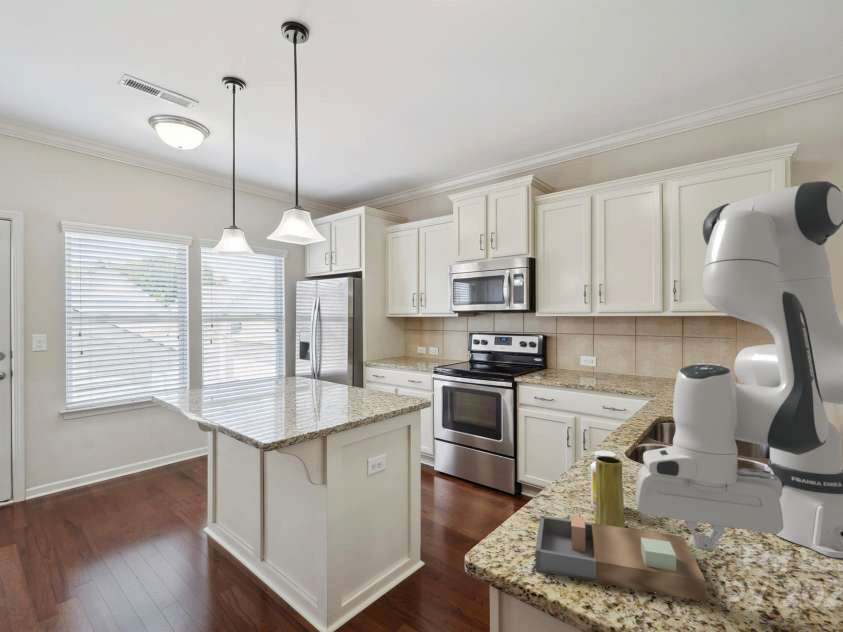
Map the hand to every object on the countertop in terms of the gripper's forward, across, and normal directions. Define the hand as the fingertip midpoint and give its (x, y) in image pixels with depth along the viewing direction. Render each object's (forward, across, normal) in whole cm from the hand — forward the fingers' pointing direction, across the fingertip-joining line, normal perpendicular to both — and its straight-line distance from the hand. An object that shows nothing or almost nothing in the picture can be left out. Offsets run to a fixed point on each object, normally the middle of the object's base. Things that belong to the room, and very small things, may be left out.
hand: (704, 548), depth 68 cm
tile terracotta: (+4, +18, -7) cm, 20 cm away
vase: (+7, +13, -19) cm, 24 cm away
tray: (+7, +22, -4) cm, 23 cm away
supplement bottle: (+7, +13, -28) cm, 31 cm away
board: (+7, +9, -4) cm, 12 cm away
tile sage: (+4, +7, 0) cm, 8 cm away
